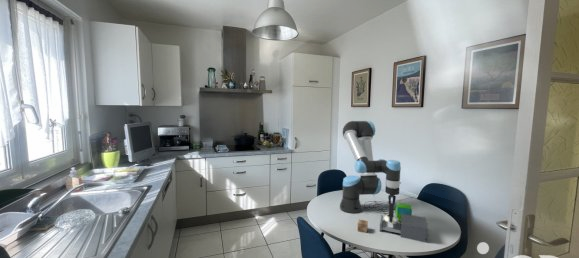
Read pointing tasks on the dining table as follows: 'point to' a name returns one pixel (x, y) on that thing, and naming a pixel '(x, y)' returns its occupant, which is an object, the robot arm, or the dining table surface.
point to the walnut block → (362, 226)
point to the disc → (393, 220)
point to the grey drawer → (384, 226)
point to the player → (414, 227)
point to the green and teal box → (403, 210)
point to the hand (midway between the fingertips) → (390, 223)
